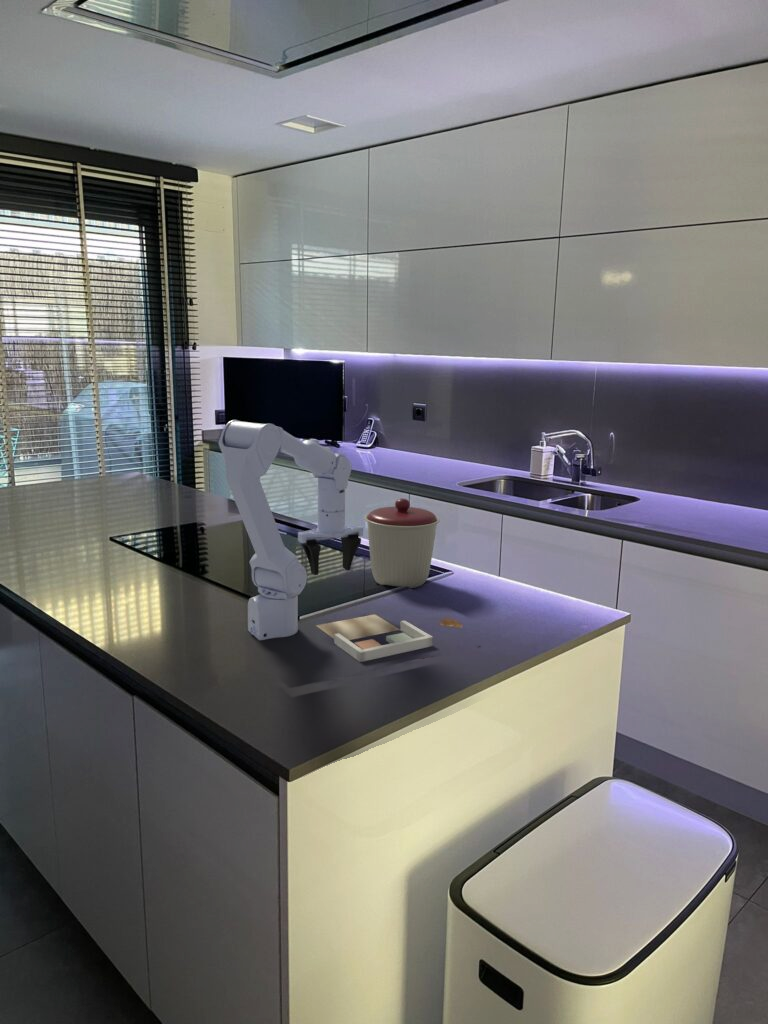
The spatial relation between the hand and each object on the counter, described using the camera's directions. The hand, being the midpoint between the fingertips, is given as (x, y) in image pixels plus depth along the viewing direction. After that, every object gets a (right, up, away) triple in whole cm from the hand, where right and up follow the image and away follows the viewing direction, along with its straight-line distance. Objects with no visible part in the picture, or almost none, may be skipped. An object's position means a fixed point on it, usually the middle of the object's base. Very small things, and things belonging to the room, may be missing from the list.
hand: (330, 571), depth 166 cm
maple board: (+6, -12, -9) cm, 16 cm away
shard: (+24, -12, -3) cm, 27 cm away
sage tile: (+15, -13, -16) cm, 25 cm away
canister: (+15, -5, +24) cm, 29 cm away
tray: (+11, -14, -17) cm, 24 cm away
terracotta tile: (+8, -14, -20) cm, 25 cm away
